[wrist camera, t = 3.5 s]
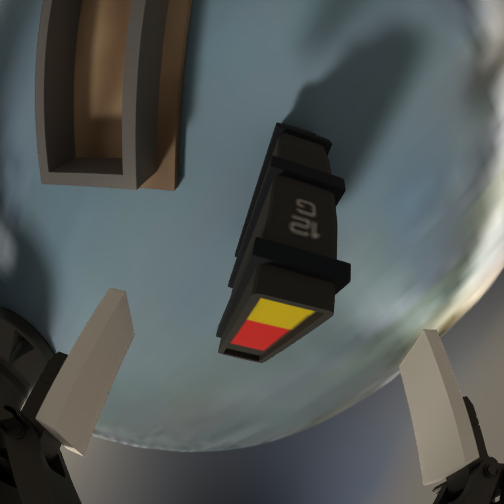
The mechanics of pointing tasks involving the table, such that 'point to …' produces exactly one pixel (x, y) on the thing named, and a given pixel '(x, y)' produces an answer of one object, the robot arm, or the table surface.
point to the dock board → (111, 84)
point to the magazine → (286, 250)
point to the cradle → (133, 99)
